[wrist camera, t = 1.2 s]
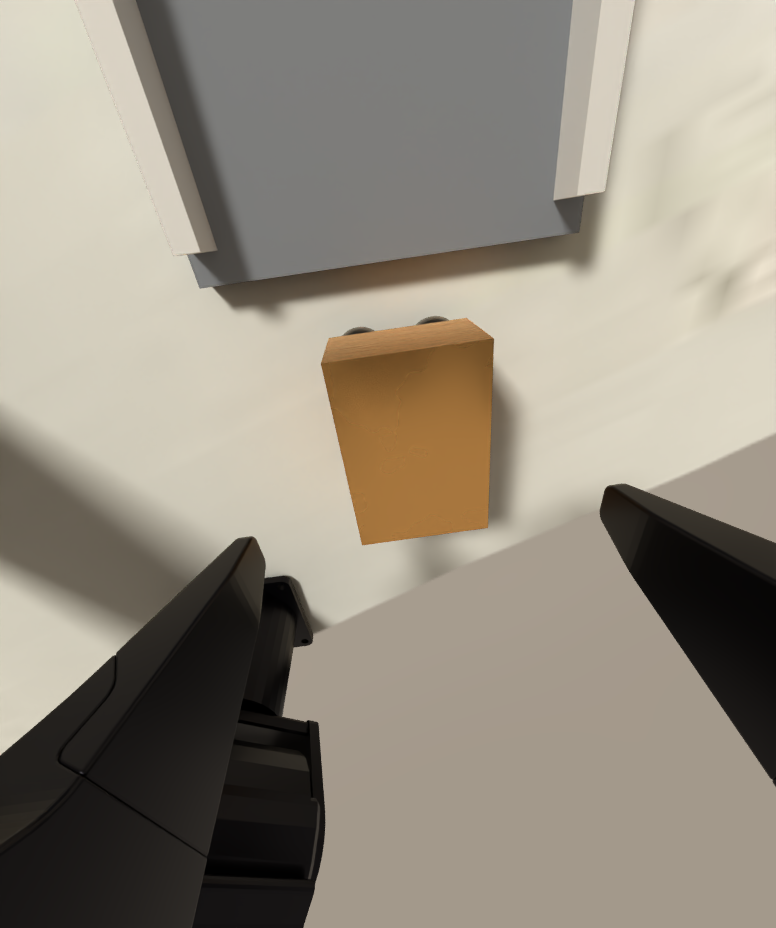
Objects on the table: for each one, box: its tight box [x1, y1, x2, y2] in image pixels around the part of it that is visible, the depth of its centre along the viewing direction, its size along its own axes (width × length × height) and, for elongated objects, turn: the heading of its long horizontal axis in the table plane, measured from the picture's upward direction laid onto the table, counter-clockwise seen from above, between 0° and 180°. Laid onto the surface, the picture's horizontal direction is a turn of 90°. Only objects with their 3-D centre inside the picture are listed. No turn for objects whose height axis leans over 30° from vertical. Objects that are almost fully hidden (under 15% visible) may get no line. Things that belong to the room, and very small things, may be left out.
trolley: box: [321, 316, 494, 545], centre depth 14 cm, size 7×5×5 cm
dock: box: [74, 0, 635, 288], centre depth 9 cm, size 11×13×3 cm
